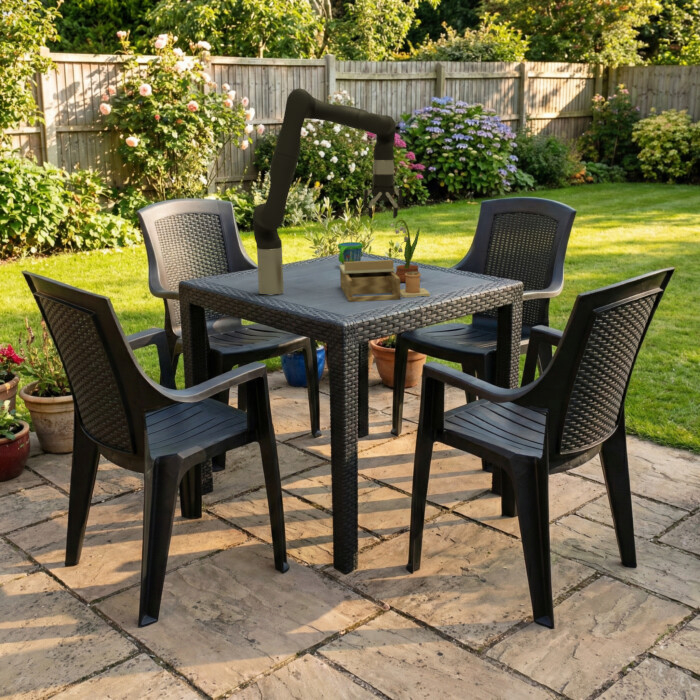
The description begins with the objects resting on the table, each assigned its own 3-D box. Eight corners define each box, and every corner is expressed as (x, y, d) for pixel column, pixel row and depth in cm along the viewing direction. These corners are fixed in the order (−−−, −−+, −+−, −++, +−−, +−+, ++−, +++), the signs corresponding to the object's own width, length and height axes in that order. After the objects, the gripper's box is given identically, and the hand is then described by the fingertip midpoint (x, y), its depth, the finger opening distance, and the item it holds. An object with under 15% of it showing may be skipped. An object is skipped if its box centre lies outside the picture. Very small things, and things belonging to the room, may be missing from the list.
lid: (343, 273, 321) (343, 262, 320) (339, 267, 334) (339, 256, 333) (395, 271, 323) (395, 260, 322) (389, 265, 336) (389, 254, 335)
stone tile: (402, 297, 315) (402, 294, 315) (397, 292, 325) (397, 289, 325) (429, 296, 316) (429, 293, 316) (424, 290, 326) (424, 288, 326)
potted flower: (394, 284, 339) (394, 219, 332) (386, 279, 348) (386, 216, 342) (423, 282, 342) (423, 218, 336) (415, 277, 351) (414, 215, 345)
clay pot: (406, 293, 317) (406, 274, 315) (403, 290, 323) (403, 271, 321) (422, 292, 318) (422, 273, 316) (418, 289, 324) (419, 270, 322)
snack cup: (349, 271, 369) (348, 247, 366) (330, 269, 375) (329, 245, 373) (371, 265, 380) (371, 242, 378) (352, 263, 387) (352, 240, 384)
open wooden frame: (349, 301, 311) (348, 281, 309) (340, 286, 337) (340, 267, 335) (400, 299, 313) (400, 278, 311) (387, 284, 339) (387, 265, 337)
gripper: (401, 172, 319) (400, 217, 323) (362, 172, 317) (362, 217, 321) (404, 173, 311) (403, 219, 315) (364, 173, 310) (364, 219, 314)
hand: (382, 218), depth 318 cm, fingers open, 8 cm apart
